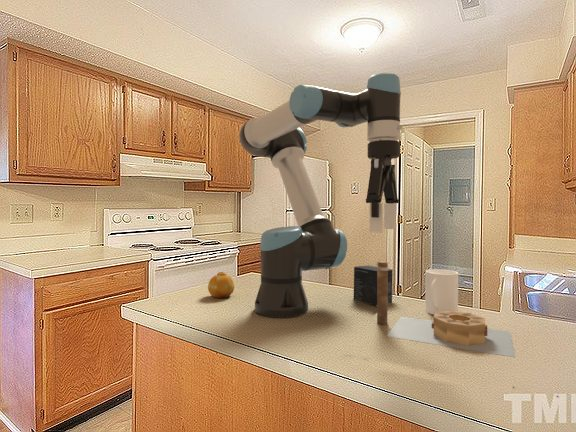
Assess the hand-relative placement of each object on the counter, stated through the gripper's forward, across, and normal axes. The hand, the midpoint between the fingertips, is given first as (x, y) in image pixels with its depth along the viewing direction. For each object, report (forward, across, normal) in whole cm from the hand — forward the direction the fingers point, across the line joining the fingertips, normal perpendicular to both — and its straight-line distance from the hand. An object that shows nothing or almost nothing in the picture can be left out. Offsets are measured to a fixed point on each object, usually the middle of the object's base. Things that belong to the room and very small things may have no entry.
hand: (383, 230), depth 89 cm
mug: (+24, +16, -11) cm, 31 cm away
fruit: (+24, +7, +54) cm, 60 cm away
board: (+24, 0, -15) cm, 28 cm away
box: (+24, +24, +9) cm, 35 cm away
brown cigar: (+24, 0, 0) cm, 24 cm away
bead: (+22, -1, -17) cm, 28 cm away
